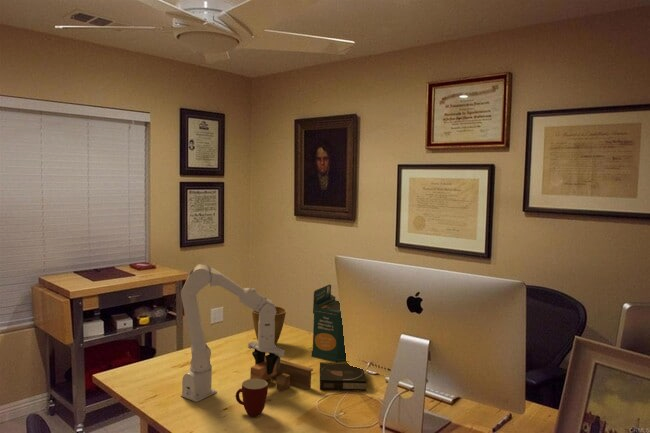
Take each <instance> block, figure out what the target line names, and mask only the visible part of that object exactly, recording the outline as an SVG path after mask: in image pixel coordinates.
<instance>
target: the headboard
mask: <svg viewBox="0 0 650 433" xmlns="http://www.w3.org/2000/svg"><path fill="white" fill-rule="evenodd" d="M267 355H268V354H265V356H267ZM265 360H266V358H265V359H264V361H265ZM254 363H255V365H256V361H254ZM313 371H314V367H313V368H312V367H308V366H305V365H302V364H299V363H295V362H292V361H289V360H288V361H287V360H285V359H281V358H280V373H278V374H276V375H274V376H272V377H270V378H269V379H267V380H265V381H267V383H268V384H269V383H271V382H272V380H275V381H276V387H275V388H276V390H278V391H281V392H285V391H286V390H288V389H290V387H291V386H294V387H297V388H301V389H303V390H306V391H308V390H310V389H311V387H312V386H311V384H312V372H313Z"/></svg>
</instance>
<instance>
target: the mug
mask: <svg viewBox="0 0 650 433" xmlns="http://www.w3.org/2000/svg"><path fill="white" fill-rule="evenodd" d="M268 385H269V383H267V381H265V380H263V379H250V378H248V379H246V380H244V381H242V383H241V388H238V390H237V391H236V393H235V399H236V402H237V403H238V404H240V405H242V406H243V407H244V411H245V412H246V413H247V416H248V417H251V418H257V417H260V416H261V414H262V413H263V411H264V409H265V406H266V402H267V397H268V393H269V392H268V390H269V388H268V387H269V386H268ZM240 394H241V395H242V400H241V397H240Z"/></svg>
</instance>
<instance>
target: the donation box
mask: <svg viewBox="0 0 650 433" xmlns="http://www.w3.org/2000/svg"><path fill="white" fill-rule="evenodd" d="M312 300H313V304H312V306H313V307H312V314H313V332H312V333H313V335H312V350H311V355H310V356H311V358H316V359H321V360H325V361H329V362H332V363H347V362H346V353H345V345H344V336H343V325H342V318H341V311H340V303H339V301H340V300H336V296H335V295H333V294H332V284H327V285H325V286H322V287H320V288H317V289H315V290H314V292H313V299H312Z"/></svg>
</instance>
